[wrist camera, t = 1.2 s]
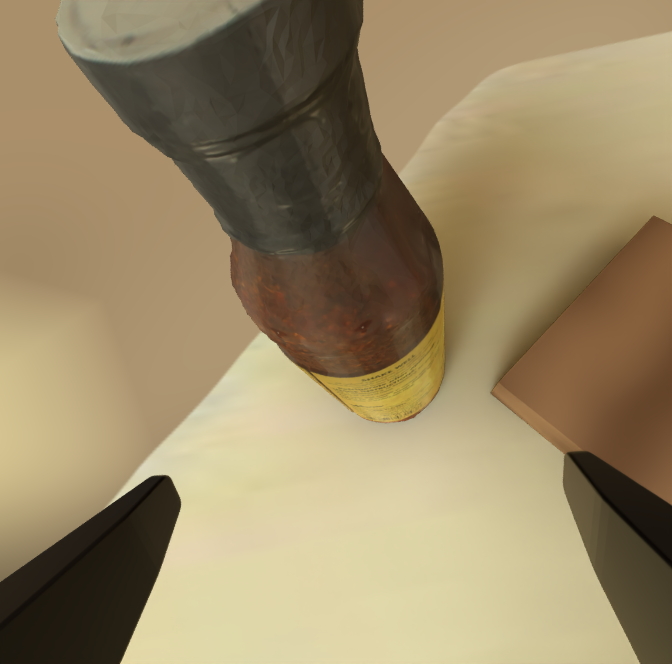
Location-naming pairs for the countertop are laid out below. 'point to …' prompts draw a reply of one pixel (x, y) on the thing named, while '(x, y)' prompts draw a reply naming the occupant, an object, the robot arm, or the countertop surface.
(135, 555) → the robot arm
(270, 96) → the sauce bottle
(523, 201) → the countertop surface
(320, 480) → the countertop surface
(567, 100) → the countertop surface
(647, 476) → the base block
